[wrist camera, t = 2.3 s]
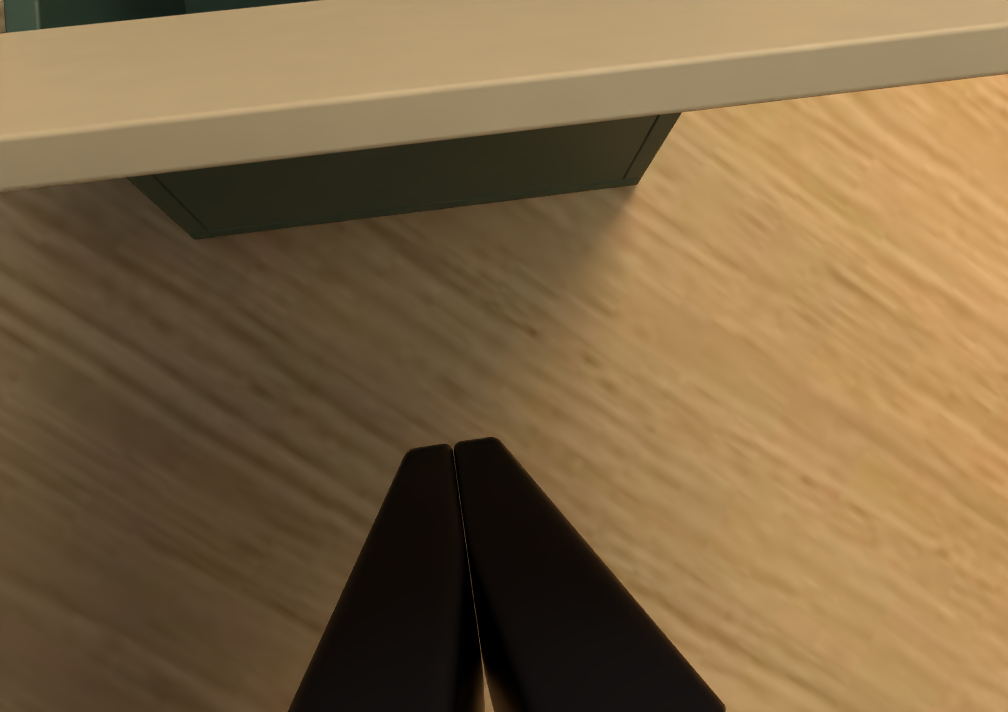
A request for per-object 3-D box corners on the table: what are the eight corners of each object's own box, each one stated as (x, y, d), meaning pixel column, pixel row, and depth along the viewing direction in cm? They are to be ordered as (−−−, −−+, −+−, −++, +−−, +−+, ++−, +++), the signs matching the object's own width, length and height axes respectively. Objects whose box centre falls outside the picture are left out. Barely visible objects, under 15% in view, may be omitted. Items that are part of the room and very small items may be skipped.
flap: (773, -47, 12) (771, -17, 12) (-22, 35, 11) (-10, 66, 11) (1115, 10, 6) (1101, 63, 7) (-414, 183, 6) (-377, 238, 6)
